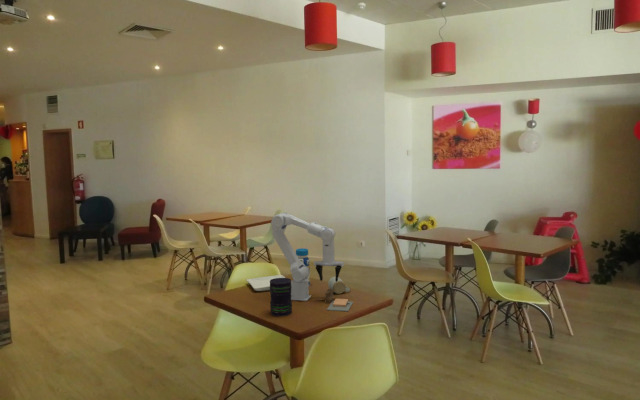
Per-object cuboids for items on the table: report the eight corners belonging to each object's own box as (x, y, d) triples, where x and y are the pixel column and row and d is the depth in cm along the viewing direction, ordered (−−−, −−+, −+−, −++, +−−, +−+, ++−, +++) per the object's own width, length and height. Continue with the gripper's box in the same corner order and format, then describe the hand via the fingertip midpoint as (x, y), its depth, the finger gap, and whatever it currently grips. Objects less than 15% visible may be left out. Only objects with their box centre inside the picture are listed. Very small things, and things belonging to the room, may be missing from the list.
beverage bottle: (292, 285, 261) (291, 249, 259) (304, 282, 266) (303, 247, 264) (300, 288, 254) (300, 251, 252) (313, 285, 259) (312, 249, 257)
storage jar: (283, 308, 221) (282, 276, 219) (296, 312, 214) (295, 280, 212) (266, 313, 214) (264, 280, 213) (279, 318, 207) (278, 284, 206)
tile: (335, 300, 226) (333, 306, 220) (335, 298, 226) (332, 304, 220) (348, 301, 225) (345, 307, 219) (348, 299, 224) (345, 304, 218)
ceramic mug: (333, 295, 240) (333, 280, 239) (327, 291, 248) (327, 276, 247) (352, 293, 243) (352, 278, 242) (346, 289, 251) (346, 275, 250)
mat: (326, 310, 216) (326, 308, 216) (333, 301, 230) (332, 299, 229) (348, 311, 214) (348, 309, 214) (353, 302, 227) (353, 300, 227)
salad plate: (254, 294, 246) (254, 287, 245) (245, 284, 266) (245, 278, 265) (293, 289, 253) (293, 283, 253) (281, 280, 273) (281, 274, 273)
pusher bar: (325, 302, 228) (325, 292, 227) (328, 298, 235) (328, 288, 234) (330, 302, 227) (330, 292, 227) (333, 298, 234) (333, 288, 234)
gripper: (312, 254, 227) (312, 282, 228) (341, 255, 223) (342, 283, 225) (315, 251, 234) (316, 278, 235) (344, 252, 230) (344, 279, 231)
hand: (329, 280), depth 230 cm, fingers open, 7 cm apart
